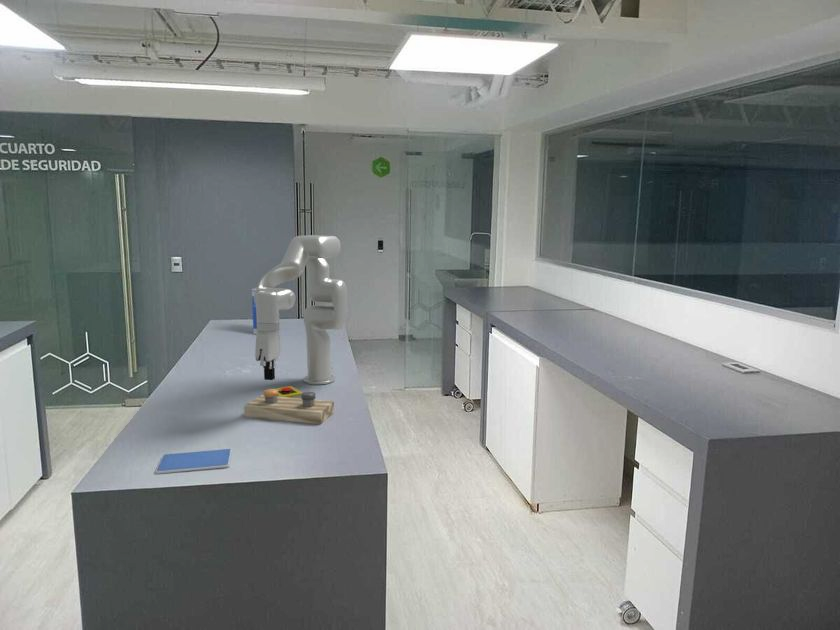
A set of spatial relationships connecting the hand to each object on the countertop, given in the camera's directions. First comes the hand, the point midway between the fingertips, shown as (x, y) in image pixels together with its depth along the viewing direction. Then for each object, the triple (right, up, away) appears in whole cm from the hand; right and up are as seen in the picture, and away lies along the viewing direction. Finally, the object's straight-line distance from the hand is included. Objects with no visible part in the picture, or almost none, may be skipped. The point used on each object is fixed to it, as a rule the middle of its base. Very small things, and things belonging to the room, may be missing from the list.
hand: (269, 379), depth 210 cm
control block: (+7, -12, +1) cm, 14 cm away
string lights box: (-36, +12, +135) cm, 141 cm away
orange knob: (0, -10, +2) cm, 10 cm away
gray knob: (+14, -10, -1) cm, 17 cm away
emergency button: (+1, -10, +19) cm, 22 cm away
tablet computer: (-12, -20, -38) cm, 44 cm away
